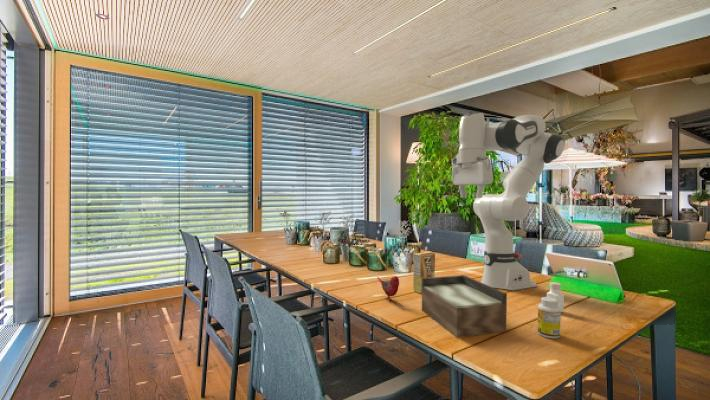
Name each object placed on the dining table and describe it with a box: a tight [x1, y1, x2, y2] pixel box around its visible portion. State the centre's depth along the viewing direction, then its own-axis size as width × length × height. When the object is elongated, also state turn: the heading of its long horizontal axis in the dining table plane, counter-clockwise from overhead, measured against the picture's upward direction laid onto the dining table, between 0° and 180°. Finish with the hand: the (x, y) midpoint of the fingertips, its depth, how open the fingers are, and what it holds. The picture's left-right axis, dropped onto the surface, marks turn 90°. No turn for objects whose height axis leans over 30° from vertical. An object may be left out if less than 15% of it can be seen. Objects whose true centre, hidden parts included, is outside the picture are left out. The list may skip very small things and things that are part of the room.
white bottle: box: [546, 281, 565, 313], centre depth 115 cm, size 4×4×10 cm
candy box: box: [412, 251, 436, 294], centre depth 139 cm, size 9×4×15 cm, turn 129°
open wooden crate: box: [421, 274, 508, 338], centre depth 107 cm, size 16×22×11 cm
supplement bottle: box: [537, 296, 562, 339], centre depth 96 cm, size 6×6×10 cm
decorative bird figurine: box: [377, 275, 400, 302], centre depth 128 cm, size 3×18×10 cm, turn 22°
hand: (470, 197), depth 121 cm, fingers open, 8 cm apart
